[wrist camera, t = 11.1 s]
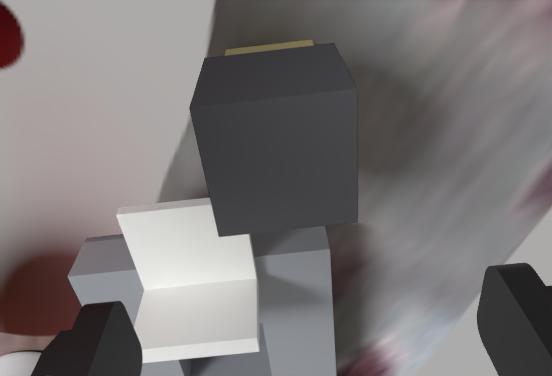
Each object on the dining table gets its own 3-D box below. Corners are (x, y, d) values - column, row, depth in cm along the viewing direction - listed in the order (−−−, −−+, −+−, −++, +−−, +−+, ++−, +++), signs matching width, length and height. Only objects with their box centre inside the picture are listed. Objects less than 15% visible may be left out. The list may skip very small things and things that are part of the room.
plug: (229, 138, 23) (218, 237, 17) (210, 37, 21) (189, 108, 14) (328, 127, 23) (357, 222, 17) (324, 24, 20) (357, 88, 14)
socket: (154, 394, 35) (145, 439, 33) (86, 238, 27) (65, 280, 24) (332, 376, 35) (339, 421, 32) (322, 212, 26) (330, 252, 23)
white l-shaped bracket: (151, 294, 25) (133, 364, 21) (119, 207, 22) (91, 272, 18) (258, 283, 25) (259, 351, 21) (243, 193, 22) (240, 256, 18)
